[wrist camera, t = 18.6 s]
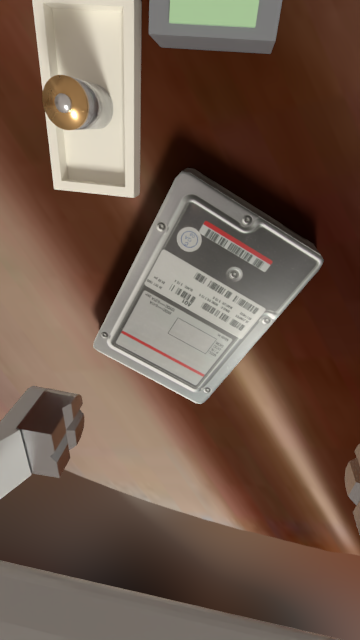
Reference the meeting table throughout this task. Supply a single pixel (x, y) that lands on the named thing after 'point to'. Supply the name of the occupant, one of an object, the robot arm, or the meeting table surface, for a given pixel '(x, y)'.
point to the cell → (76, 103)
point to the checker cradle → (215, 24)
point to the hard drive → (203, 287)
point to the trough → (105, 70)
